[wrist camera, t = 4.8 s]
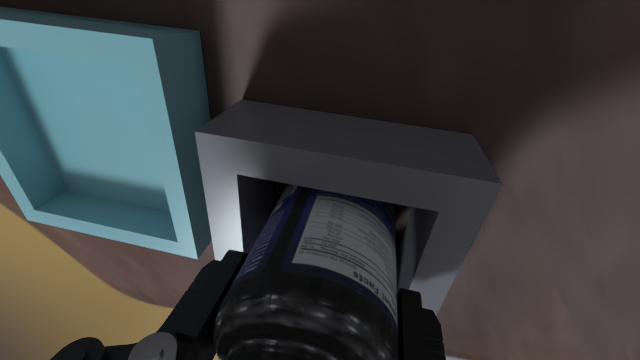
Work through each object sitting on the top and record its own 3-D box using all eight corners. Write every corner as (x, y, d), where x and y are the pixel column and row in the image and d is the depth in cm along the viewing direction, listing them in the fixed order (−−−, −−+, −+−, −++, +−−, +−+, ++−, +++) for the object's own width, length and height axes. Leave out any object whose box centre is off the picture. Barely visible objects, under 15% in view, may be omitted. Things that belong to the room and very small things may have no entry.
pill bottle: (312, 256, 18) (233, 511, 9) (264, 176, 16) (94, 417, 7) (410, 238, 16) (435, 555, 7) (373, 142, 14) (336, 436, 4)
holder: (473, 134, 13) (502, 183, 9) (411, 290, 18) (415, 355, 15) (241, 99, 14) (194, 131, 11) (251, 254, 20) (222, 307, 16)
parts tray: (199, 30, 13) (152, 39, 10) (223, 224, 19) (197, 259, 16) (-13, 4, 14) (-100, 6, 12) (72, 192, 20) (27, 219, 18)
